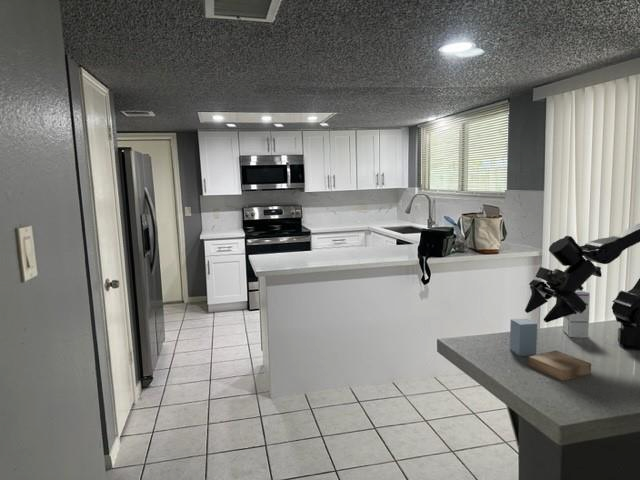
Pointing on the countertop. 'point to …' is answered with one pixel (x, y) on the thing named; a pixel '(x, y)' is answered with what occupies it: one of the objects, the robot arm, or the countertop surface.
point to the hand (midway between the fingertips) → (535, 316)
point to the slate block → (523, 337)
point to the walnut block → (560, 365)
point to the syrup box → (578, 319)
